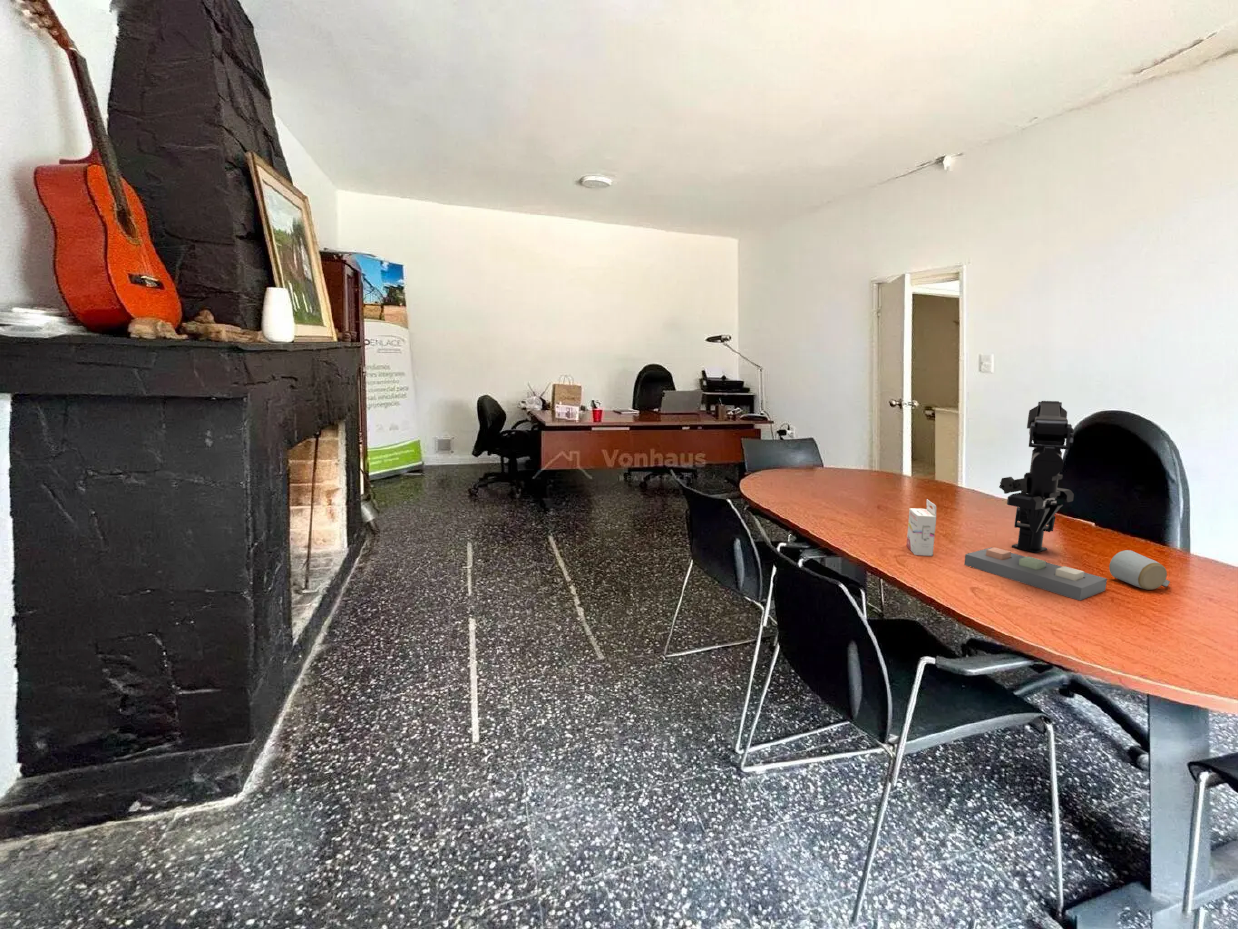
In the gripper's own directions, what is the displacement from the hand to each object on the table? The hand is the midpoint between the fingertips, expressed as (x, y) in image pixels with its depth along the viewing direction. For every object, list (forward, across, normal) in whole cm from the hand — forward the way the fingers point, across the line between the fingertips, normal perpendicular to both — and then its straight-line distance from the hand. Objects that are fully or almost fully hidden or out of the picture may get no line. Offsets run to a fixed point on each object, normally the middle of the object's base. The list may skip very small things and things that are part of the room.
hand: (1036, 531), depth 137 cm
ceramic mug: (+12, -18, +15) cm, 27 cm away
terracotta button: (+10, 0, -8) cm, 13 cm away
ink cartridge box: (+12, +6, -26) cm, 29 cm away
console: (+12, 0, 0) cm, 12 cm away
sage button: (+10, 0, 0) cm, 10 cm away
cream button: (+10, 0, +8) cm, 13 cm away
